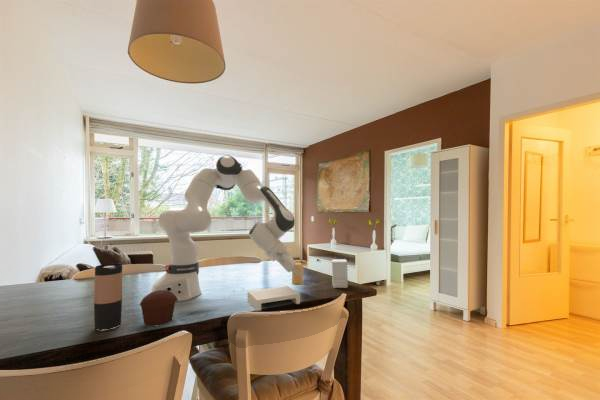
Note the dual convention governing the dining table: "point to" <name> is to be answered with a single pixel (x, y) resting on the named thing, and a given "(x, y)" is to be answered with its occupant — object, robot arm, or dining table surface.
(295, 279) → the tan rectangular block
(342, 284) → the supplement box
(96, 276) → the travel mug
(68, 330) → the dining table surface
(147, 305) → the muffin
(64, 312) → the dining table surface
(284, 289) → the white bridge block
